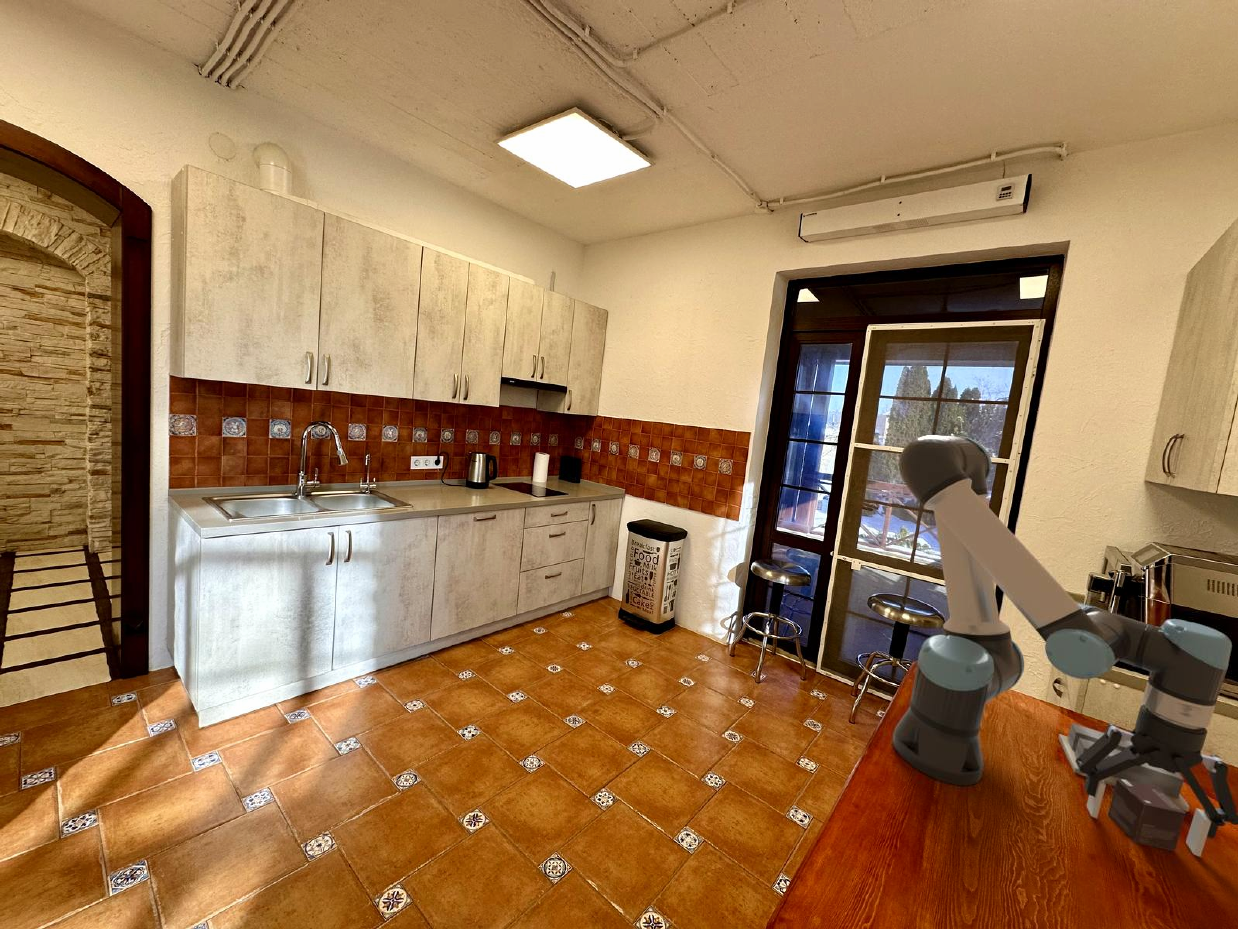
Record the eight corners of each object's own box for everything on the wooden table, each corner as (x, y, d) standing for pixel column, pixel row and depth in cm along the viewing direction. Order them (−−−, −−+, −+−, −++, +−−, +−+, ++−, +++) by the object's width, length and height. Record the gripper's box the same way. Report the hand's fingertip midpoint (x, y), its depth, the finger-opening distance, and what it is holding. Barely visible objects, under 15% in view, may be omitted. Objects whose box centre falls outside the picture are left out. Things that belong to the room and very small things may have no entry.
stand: (1074, 772, 99) (1080, 749, 98) (1058, 738, 110) (1063, 717, 109) (1188, 812, 92) (1195, 787, 91) (1159, 771, 102) (1166, 748, 101)
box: (1176, 853, 82) (1187, 813, 81) (1133, 843, 84) (1144, 804, 82) (1146, 822, 88) (1156, 785, 87) (1106, 813, 89) (1116, 777, 88)
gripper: (1084, 699, 85) (1055, 810, 88) (1301, 761, 73) (1258, 887, 77) (1071, 678, 91) (1045, 783, 95) (1269, 733, 80) (1230, 850, 83)
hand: (1140, 830), depth 86 cm, fingers open, 12 cm apart
